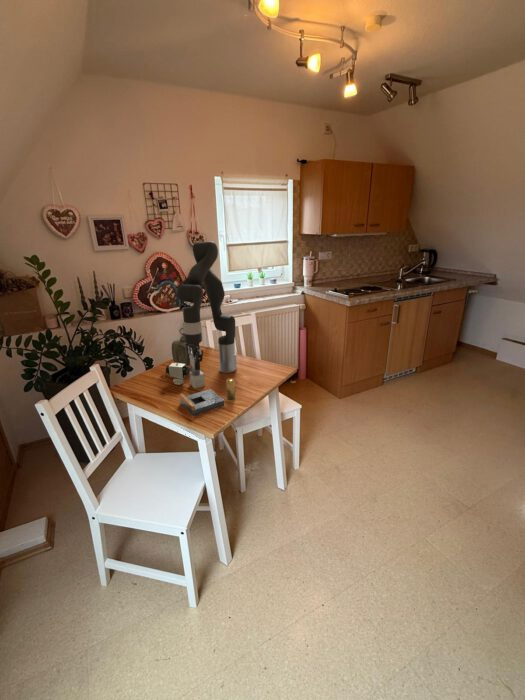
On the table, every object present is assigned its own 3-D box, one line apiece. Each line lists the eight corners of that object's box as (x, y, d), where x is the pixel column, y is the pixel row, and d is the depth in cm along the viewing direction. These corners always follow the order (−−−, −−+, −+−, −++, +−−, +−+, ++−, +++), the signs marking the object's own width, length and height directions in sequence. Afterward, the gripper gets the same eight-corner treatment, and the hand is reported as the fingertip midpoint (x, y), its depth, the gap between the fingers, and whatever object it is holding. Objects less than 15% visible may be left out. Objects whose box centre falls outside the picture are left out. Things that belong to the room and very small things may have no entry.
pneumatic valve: (187, 386, 170) (185, 365, 166) (167, 384, 172) (164, 363, 168) (191, 381, 175) (189, 361, 171) (171, 380, 178) (169, 359, 173)
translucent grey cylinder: (197, 371, 148) (196, 351, 145) (201, 374, 145) (200, 354, 142) (189, 373, 146) (188, 353, 143) (193, 376, 143) (192, 355, 140)
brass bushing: (232, 395, 161) (231, 377, 157) (236, 399, 158) (236, 380, 154) (225, 398, 159) (224, 379, 155) (229, 401, 156) (228, 382, 152)
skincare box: (200, 381, 176) (199, 369, 173) (205, 386, 171) (204, 373, 168) (190, 384, 173) (189, 372, 170) (194, 388, 168) (193, 376, 165)
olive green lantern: (200, 369, 192) (197, 328, 183) (189, 374, 185) (185, 332, 176) (184, 363, 199) (180, 324, 191) (172, 368, 193) (168, 328, 184)
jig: (210, 394, 162) (210, 385, 161) (224, 405, 152) (224, 396, 150) (180, 403, 154) (179, 394, 152) (193, 416, 143) (192, 406, 141)
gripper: (208, 333, 136) (210, 371, 141) (193, 326, 146) (196, 361, 152) (191, 336, 131) (194, 375, 137) (178, 328, 142) (181, 364, 148)
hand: (195, 367), depth 145 cm, fingers closed on translucent grey cylinder, 4 cm apart
